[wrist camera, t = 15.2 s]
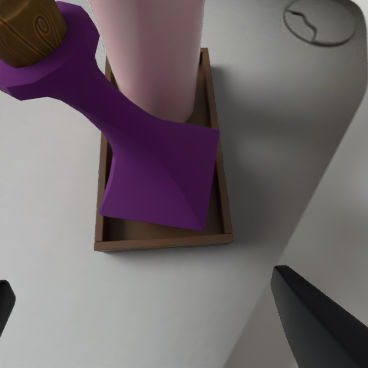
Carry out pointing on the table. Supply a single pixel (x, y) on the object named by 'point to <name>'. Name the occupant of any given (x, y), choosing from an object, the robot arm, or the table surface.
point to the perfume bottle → (108, 115)
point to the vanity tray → (160, 234)
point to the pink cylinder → (153, 51)
